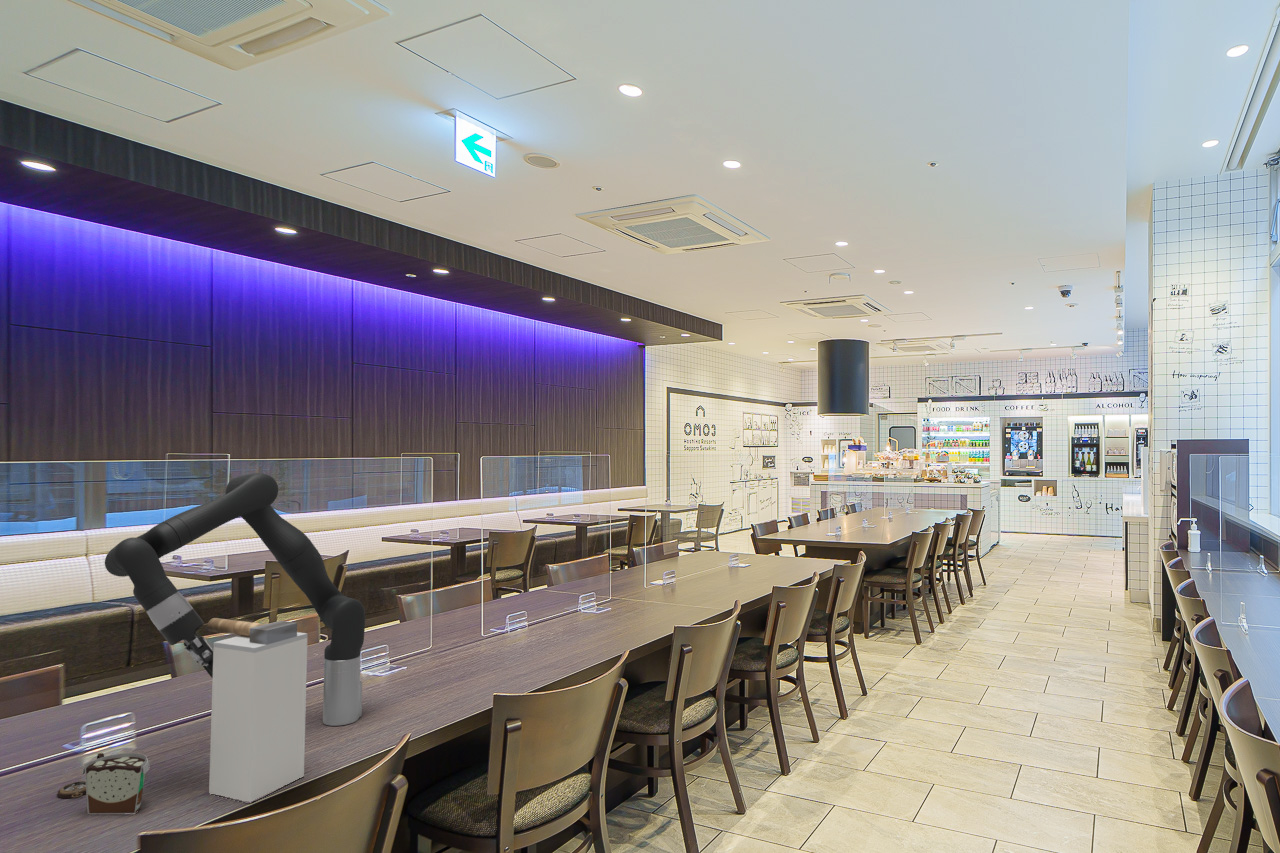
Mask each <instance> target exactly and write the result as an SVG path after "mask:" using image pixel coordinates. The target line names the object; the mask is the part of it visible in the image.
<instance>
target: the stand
mask: <svg viewBox="0 0 1280 853" xmlns="http://www.w3.org/2000/svg"><path fill="white" fill-rule="evenodd" d="M308 636H309V635H308V633H306V632H299V631H297V637H293V638H289V639H286V640H282V641H279V642H275V643H271V644H268V645H265V644H258V643H250V636H242V635H236V636H232V637H230V638H225V639H221V640H217V641H214V642H213V648H212V649H213V678H212V680H211V681H212V682H211V683H212V687H211V688H212V689H211V712H210V713H211V717H210V748H209V750H210V751H209V753H210V754H209V782H208V783H209V784H208V786H209V788H208V794H209V793H210V794H209V795H211V794H216V795H221V796H225V797H230V798H233V799H239V800H242V801H249V802H251V801H253V800H255V799H257V798H259V797H261V796H263V795H265V794H267V793H269V792H271V791H274V790H276V789H278V788H281V787H283V786H284V785H287V784H289V783H290V782H293V781H295V780H297V779H299V778H301V777H303V776H304V777H305V746H306V744H305V743H306V741H305V740H306V714H307V713H306V710H307V709H306V708H307V707H306V706H307V705H306V704H307V703H306V701H307V675H308V674H307V670H308V668H307V667H308V662H307V661H308Z"/></svg>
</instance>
